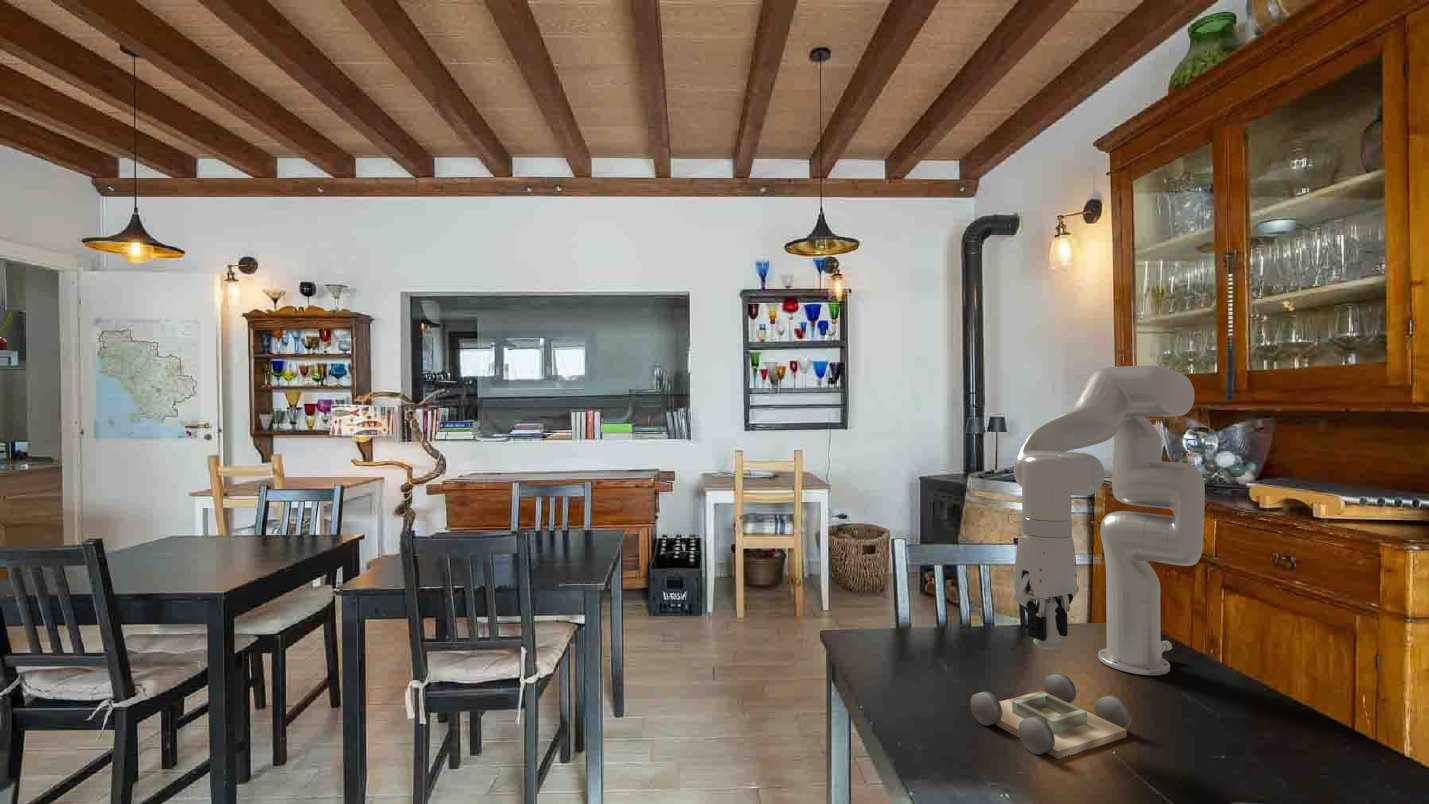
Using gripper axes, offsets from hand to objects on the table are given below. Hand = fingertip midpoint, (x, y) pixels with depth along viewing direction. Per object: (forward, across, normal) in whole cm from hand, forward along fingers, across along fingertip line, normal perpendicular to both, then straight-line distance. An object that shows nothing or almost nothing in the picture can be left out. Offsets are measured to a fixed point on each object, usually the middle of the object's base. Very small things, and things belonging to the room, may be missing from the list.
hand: (1047, 634), depth 111 cm
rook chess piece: (+2, 0, 0) cm, 2 cm away
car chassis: (+15, 0, 0) cm, 15 cm away
